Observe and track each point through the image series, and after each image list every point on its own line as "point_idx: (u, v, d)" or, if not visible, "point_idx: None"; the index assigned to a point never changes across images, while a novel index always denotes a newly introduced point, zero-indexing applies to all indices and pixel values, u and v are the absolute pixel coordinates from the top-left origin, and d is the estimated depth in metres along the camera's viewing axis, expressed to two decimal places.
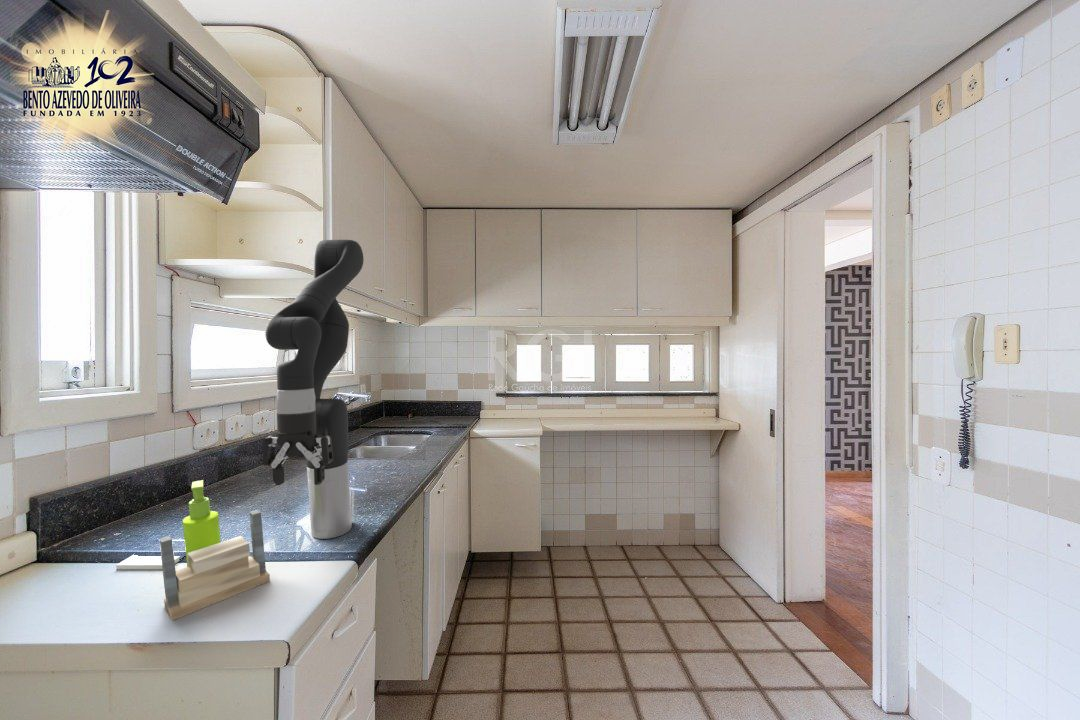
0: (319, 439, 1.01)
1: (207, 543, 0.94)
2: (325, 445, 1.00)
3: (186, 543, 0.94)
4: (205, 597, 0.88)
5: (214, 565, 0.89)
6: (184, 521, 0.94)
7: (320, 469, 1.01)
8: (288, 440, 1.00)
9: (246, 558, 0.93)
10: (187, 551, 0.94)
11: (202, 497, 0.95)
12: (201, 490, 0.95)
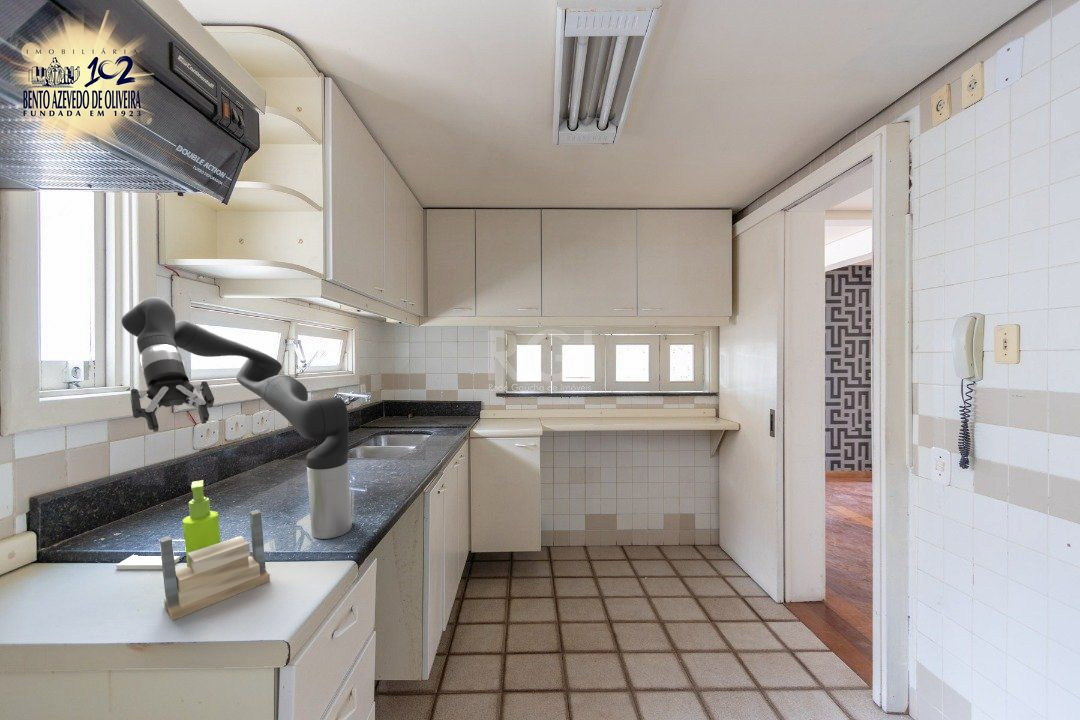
0: (197, 386, 1.09)
1: (207, 543, 0.94)
2: (207, 386, 1.09)
3: (186, 543, 0.94)
4: (205, 597, 0.88)
5: (214, 565, 0.89)
6: (184, 521, 0.94)
7: (205, 407, 1.06)
8: None
9: (246, 558, 0.93)
10: (187, 551, 0.94)
11: (202, 497, 0.95)
12: (201, 490, 0.95)
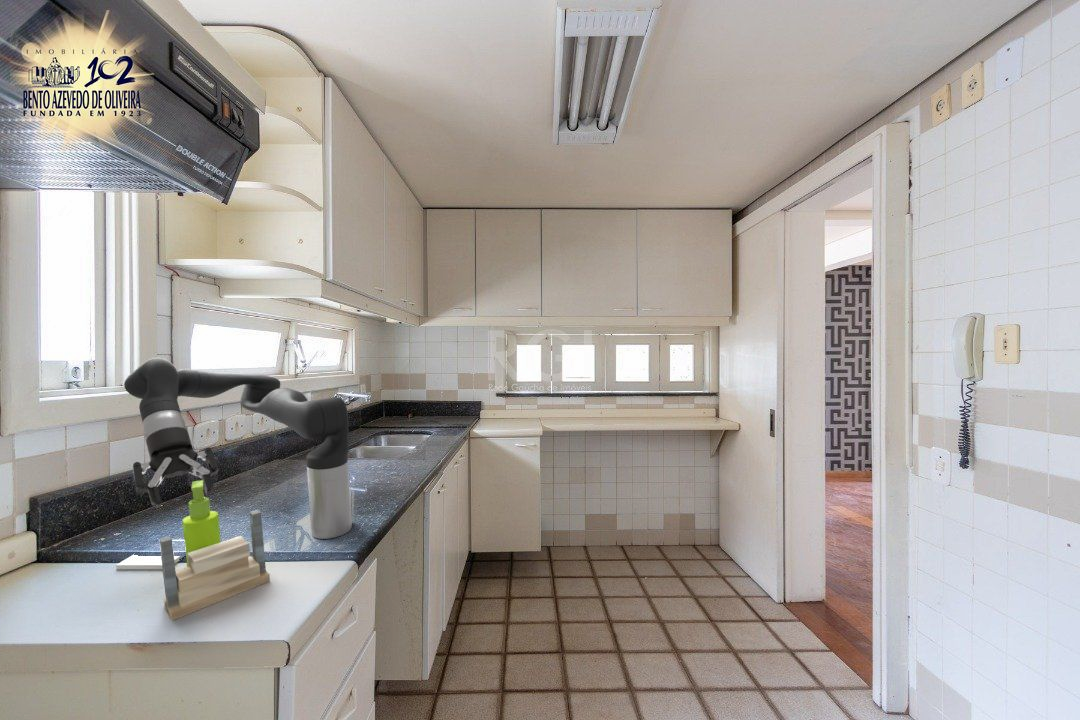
0: (201, 452, 1.06)
1: (207, 543, 0.94)
2: (211, 453, 1.07)
3: (186, 543, 0.94)
4: (205, 597, 0.88)
5: (214, 565, 0.89)
6: (184, 521, 0.94)
7: (209, 476, 1.04)
8: None
9: (246, 558, 0.93)
10: (187, 551, 0.94)
11: (202, 497, 0.95)
12: (201, 490, 0.95)
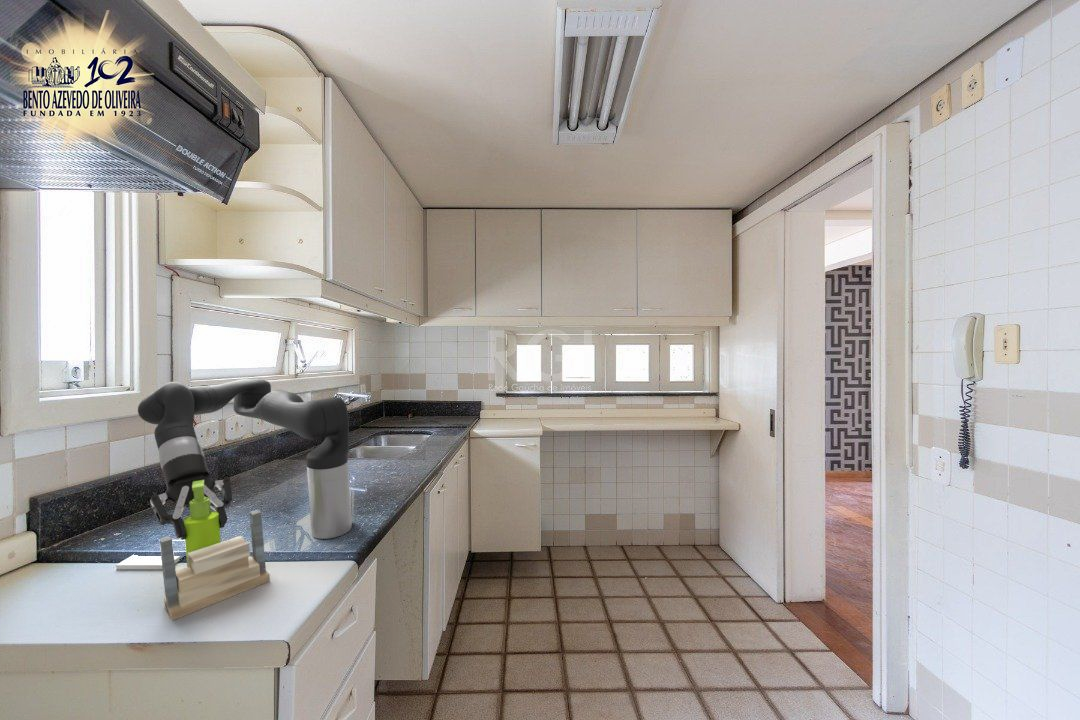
0: (219, 481, 1.03)
1: (207, 543, 0.94)
2: (229, 483, 1.03)
3: (186, 543, 0.94)
4: (205, 597, 0.88)
5: (214, 565, 0.89)
6: (184, 521, 0.94)
7: (223, 509, 0.99)
8: (183, 487, 0.98)
9: (246, 558, 0.93)
10: (187, 551, 0.94)
11: (203, 497, 0.95)
12: (202, 490, 0.95)
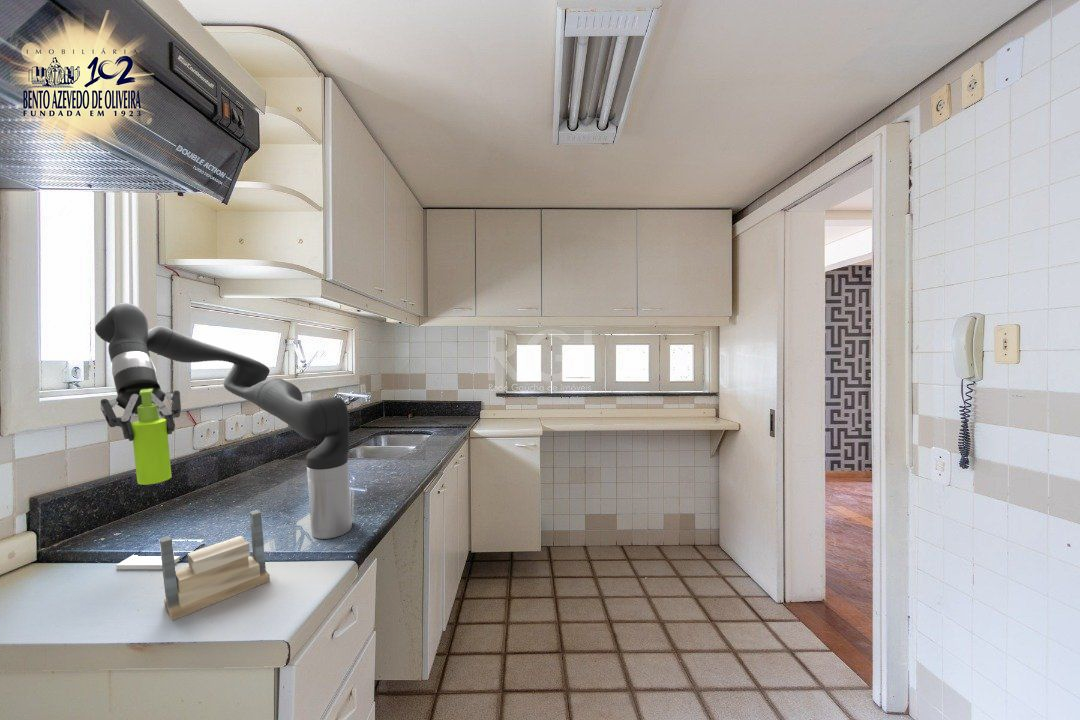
0: (169, 394, 1.09)
1: (154, 445, 1.01)
2: (178, 396, 1.09)
3: (134, 444, 1.00)
4: (205, 597, 0.88)
5: (214, 565, 0.89)
6: (132, 423, 1.00)
7: (171, 417, 1.06)
8: None
9: (246, 558, 0.93)
10: (135, 452, 1.00)
11: (150, 403, 1.02)
12: (149, 396, 1.01)
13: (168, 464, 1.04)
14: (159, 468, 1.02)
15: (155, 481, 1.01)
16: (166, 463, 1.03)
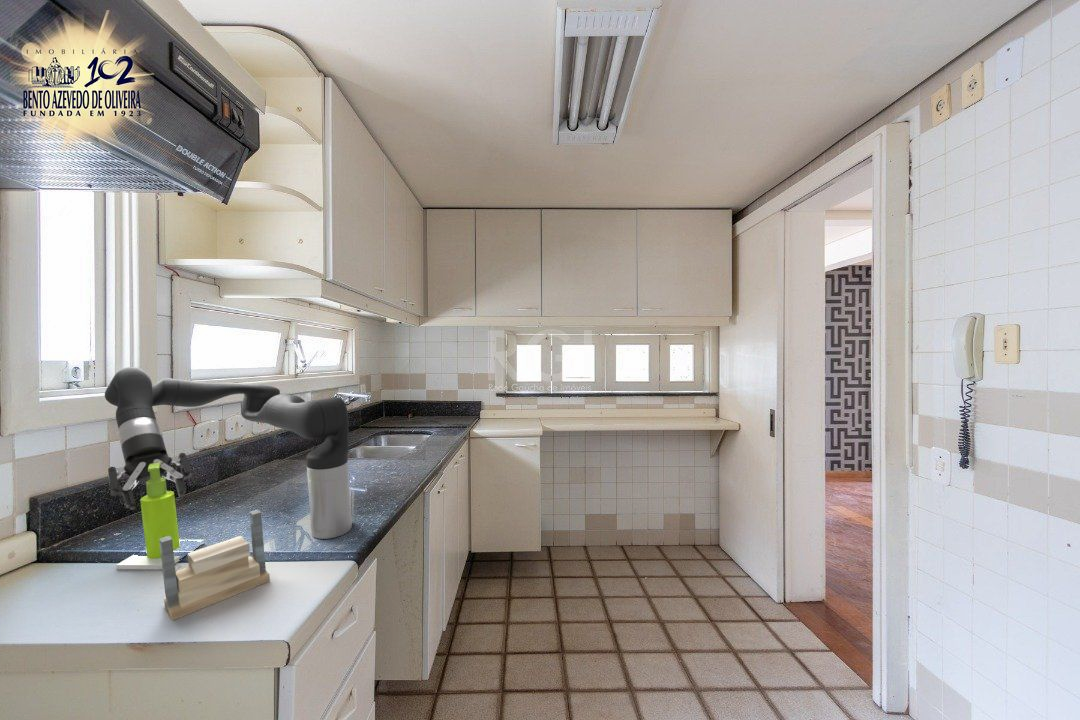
0: (175, 457, 1.11)
1: (162, 520, 1.03)
2: (185, 458, 1.11)
3: (143, 519, 1.02)
4: (205, 597, 0.88)
5: (214, 565, 0.89)
6: (141, 499, 1.02)
7: (182, 480, 1.08)
8: None
9: (246, 558, 0.93)
10: (144, 527, 1.03)
11: (158, 477, 1.04)
12: (157, 471, 1.04)
13: (177, 536, 1.06)
14: None
15: None
16: (175, 536, 1.06)
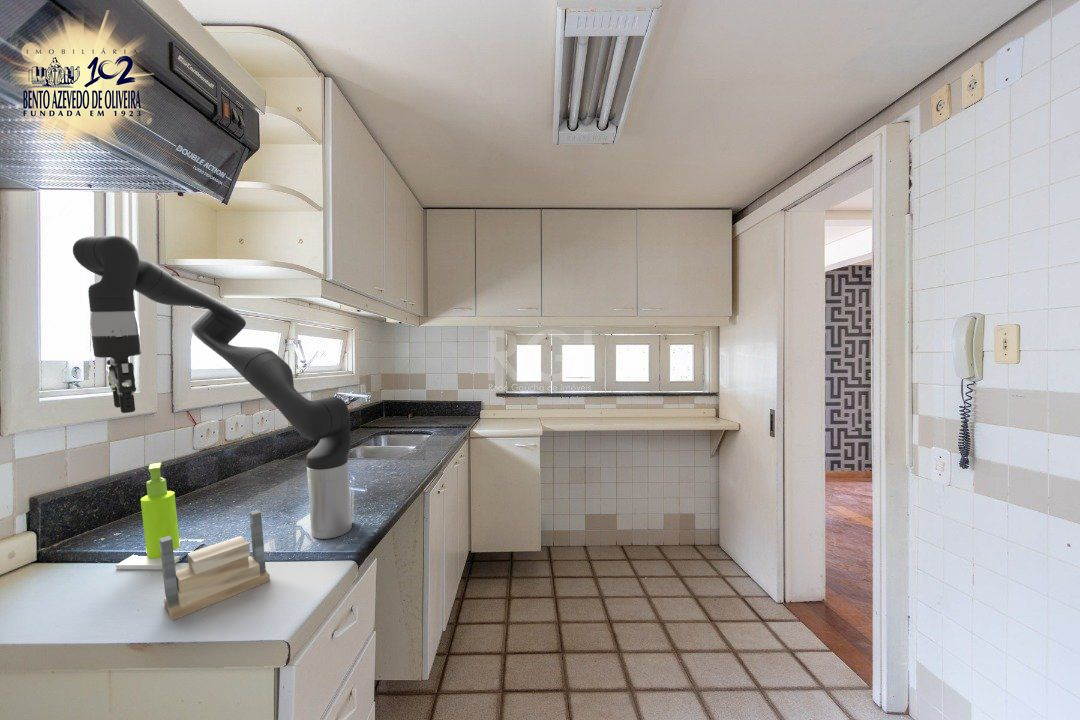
0: None
1: (163, 520, 1.03)
2: None
3: (144, 519, 1.02)
4: (205, 597, 0.88)
5: (214, 565, 0.89)
6: (142, 499, 1.02)
7: None
8: None
9: (246, 558, 0.93)
10: (144, 527, 1.03)
11: (159, 477, 1.04)
12: (158, 471, 1.04)
13: (177, 536, 1.06)
14: None
15: None
16: (175, 536, 1.06)
